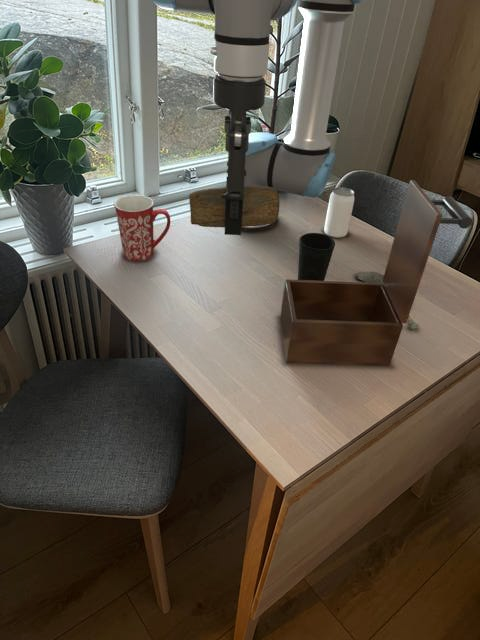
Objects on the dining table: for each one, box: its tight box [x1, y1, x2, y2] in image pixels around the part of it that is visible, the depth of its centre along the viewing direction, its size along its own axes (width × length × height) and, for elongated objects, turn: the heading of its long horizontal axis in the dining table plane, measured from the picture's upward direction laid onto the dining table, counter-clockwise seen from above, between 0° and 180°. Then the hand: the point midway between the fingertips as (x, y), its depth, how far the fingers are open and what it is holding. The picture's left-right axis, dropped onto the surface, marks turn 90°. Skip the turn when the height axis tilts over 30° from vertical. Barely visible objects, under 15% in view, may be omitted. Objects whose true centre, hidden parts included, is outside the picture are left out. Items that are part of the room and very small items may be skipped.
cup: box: [297, 232, 336, 281], centre depth 106 cm, size 8×8×12 cm
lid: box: [383, 179, 473, 324], centre depth 82 cm, size 21×14×7 cm
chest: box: [279, 278, 404, 367], centre depth 91 cm, size 20×14×10 cm
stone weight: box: [188, 186, 280, 228], centre depth 80 cm, size 15×7×7 cm, turn 103°
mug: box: [113, 194, 171, 262], centre depth 113 cm, size 13×9×14 cm
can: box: [323, 186, 355, 239], centre depth 128 cm, size 6×6×12 cm
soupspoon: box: [356, 271, 419, 330], centre depth 106 cm, size 22×3×7 cm
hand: (232, 222), depth 82 cm, fingers closed on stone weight, 7 cm apart
